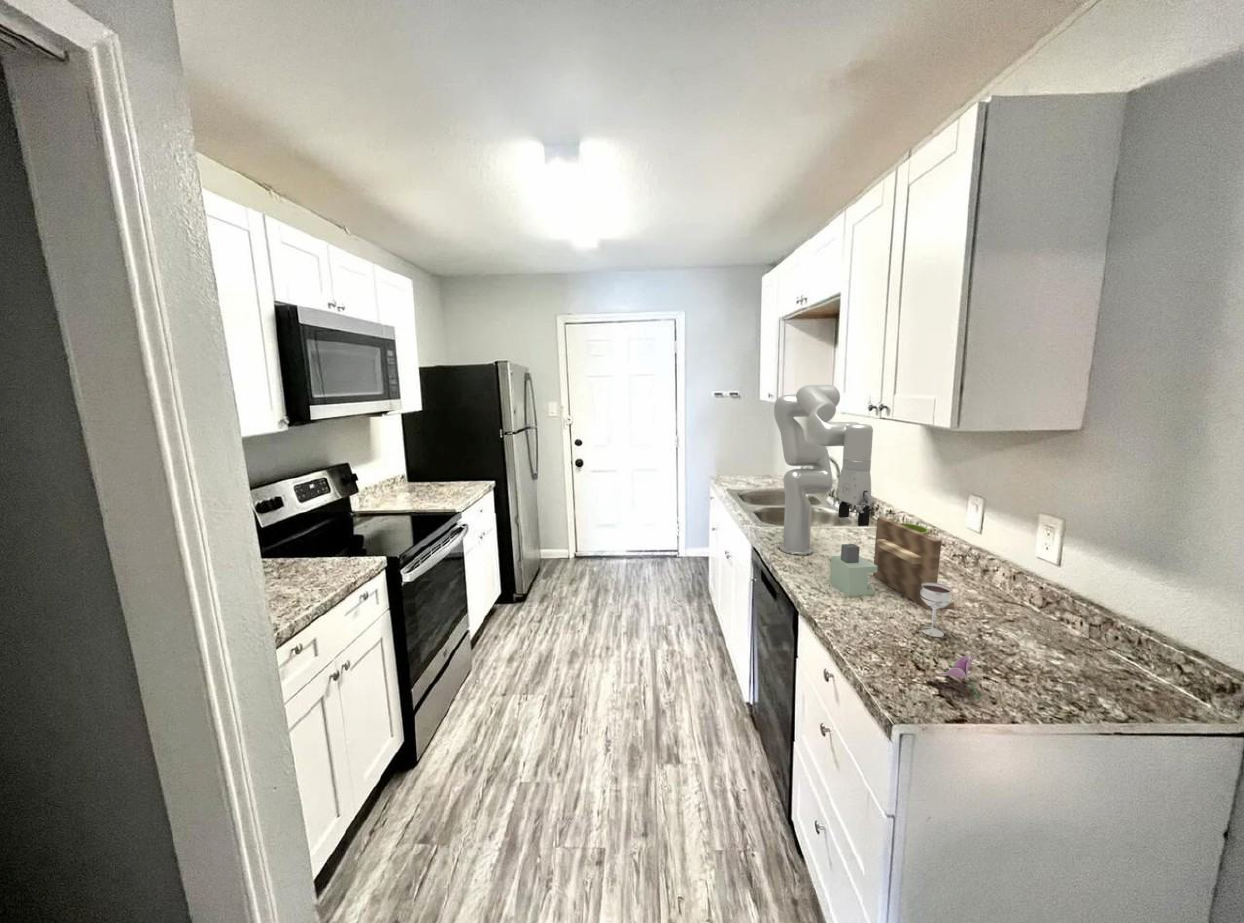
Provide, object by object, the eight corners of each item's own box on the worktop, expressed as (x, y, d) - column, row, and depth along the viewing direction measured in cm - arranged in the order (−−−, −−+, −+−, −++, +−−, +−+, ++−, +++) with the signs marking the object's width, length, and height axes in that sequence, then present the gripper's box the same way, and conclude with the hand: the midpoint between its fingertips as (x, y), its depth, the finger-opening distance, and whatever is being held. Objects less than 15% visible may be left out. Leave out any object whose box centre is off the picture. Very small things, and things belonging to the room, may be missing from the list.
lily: (980, 681, 101) (958, 637, 103) (1022, 695, 89) (996, 644, 92) (928, 700, 101) (907, 654, 103) (963, 715, 89) (939, 664, 92)
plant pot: (880, 554, 174) (883, 525, 172) (901, 549, 179) (904, 521, 177) (911, 565, 163) (914, 534, 161) (933, 559, 168) (936, 529, 166)
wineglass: (933, 640, 115) (938, 594, 113) (910, 627, 122) (914, 583, 120) (954, 636, 117) (959, 591, 115) (930, 623, 123) (935, 580, 122)
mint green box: (829, 582, 150) (832, 540, 147) (855, 581, 151) (858, 539, 148) (848, 596, 140) (851, 551, 138) (875, 594, 141) (878, 550, 139)
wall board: (865, 576, 154) (870, 517, 151) (895, 574, 155) (900, 516, 152) (919, 610, 131) (926, 541, 128) (953, 607, 132) (961, 539, 129)
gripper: (828, 461, 147) (825, 514, 149) (862, 470, 130) (859, 530, 132) (850, 461, 148) (847, 513, 150) (887, 469, 131) (883, 528, 133)
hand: (853, 521), depth 141 cm, fingers open, 9 cm apart
